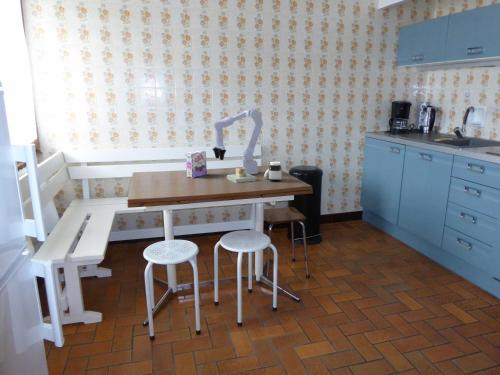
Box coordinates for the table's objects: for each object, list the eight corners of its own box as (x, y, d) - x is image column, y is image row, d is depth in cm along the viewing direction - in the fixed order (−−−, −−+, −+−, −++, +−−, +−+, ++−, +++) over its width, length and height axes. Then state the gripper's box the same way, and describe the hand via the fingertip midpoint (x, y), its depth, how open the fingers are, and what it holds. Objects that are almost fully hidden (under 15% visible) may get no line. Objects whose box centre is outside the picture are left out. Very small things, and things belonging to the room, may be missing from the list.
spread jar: (280, 182, 239) (280, 163, 236) (262, 181, 241) (262, 163, 239) (282, 178, 251) (282, 160, 248) (265, 177, 253) (265, 160, 250)
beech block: (242, 174, 251) (242, 167, 249) (246, 176, 246) (246, 168, 245) (235, 175, 248) (235, 168, 247) (239, 177, 244) (239, 169, 243)
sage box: (246, 177, 257) (246, 173, 256) (255, 181, 245) (255, 176, 244) (226, 179, 251) (226, 175, 250) (235, 183, 239) (235, 179, 238)
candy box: (192, 178, 253) (191, 153, 249) (186, 177, 257) (185, 152, 253) (207, 174, 264) (206, 150, 260) (200, 173, 267) (200, 150, 263)
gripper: (209, 138, 264) (210, 158, 268) (217, 140, 252) (218, 161, 255) (218, 137, 267) (219, 157, 271) (227, 140, 255) (228, 160, 258)
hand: (219, 159), depth 263 cm, fingers open, 7 cm apart
